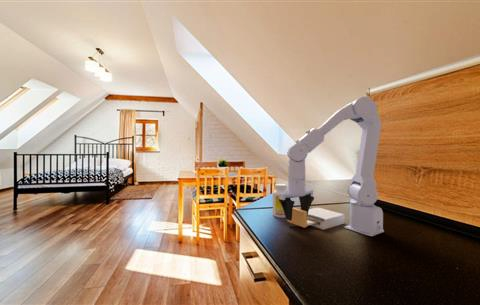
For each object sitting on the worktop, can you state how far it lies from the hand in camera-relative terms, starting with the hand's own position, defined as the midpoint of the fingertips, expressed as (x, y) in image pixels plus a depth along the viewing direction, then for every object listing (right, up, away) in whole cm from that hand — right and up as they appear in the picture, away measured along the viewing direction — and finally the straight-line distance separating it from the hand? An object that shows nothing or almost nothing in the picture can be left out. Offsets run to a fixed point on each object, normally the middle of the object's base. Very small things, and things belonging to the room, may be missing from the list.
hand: (296, 217), depth 81 cm
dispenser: (+10, -3, +7) cm, 13 cm away
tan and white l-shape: (+7, -2, +4) cm, 8 cm away
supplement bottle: (-3, -3, +15) cm, 15 cm away
